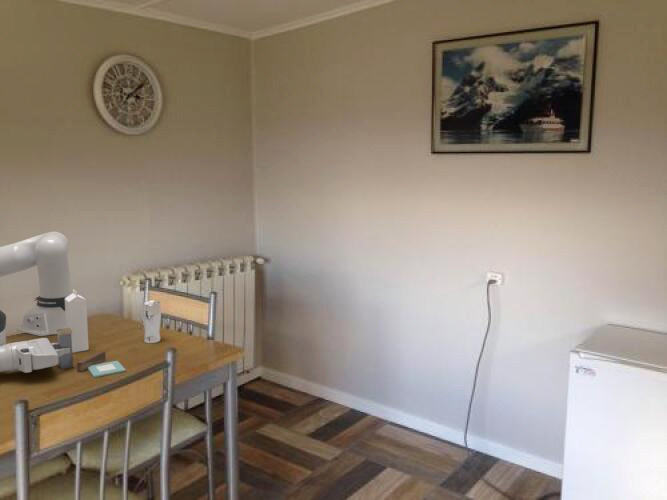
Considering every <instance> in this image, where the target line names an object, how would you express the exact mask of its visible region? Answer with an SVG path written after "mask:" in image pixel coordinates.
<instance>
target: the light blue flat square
mask: <svg viewBox="0 0 667 500" xmlns="http://www.w3.org/2000/svg"><path fill="white" fill-rule="evenodd" d="M87 370H88V372H89V373H90V375H92V377H93V378H99V377H103V376H104V377H105V376H111V375H115V374H119V373H124V372H127V371H126V370H127V369H126V368H125V367H124V366H123V365H122V364H121V363H120V362H119V360H113V361H107V362H101V363H98V364H96V365H91V366H90V367H88V369H87Z"/></svg>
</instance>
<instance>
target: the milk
mask: <svg viewBox="0 0 667 500" xmlns="http://www.w3.org/2000/svg"><path fill="white" fill-rule="evenodd" d="M65 314H66V328H70V329H71V330H72V333H71V338H72V354H74V353H79V352H84V351H89V329H88V309H87V299H86V298H85V297H83V296H82V295H80V294H78V291H76V289H74V288H73V289H72V293H71V295H69V296H68V297H66V298H65Z"/></svg>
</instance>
